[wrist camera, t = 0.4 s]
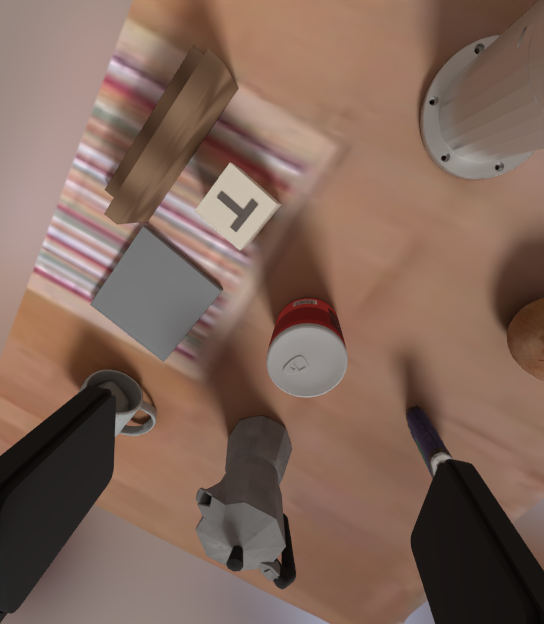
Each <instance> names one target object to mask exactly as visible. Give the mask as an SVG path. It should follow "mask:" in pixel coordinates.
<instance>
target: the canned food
mask: <svg viewBox="0 0 544 624" xmlns="http://www.w3.org/2000/svg"><path fill="white" fill-rule="evenodd" d="M346 368H347V351H346V346H345V342H344V338H343V335H342V331H341V328H340V324H339V320H338V317H337V315H336V313H335V311H334V310H333V309H332V307H330V306H329V305H328V304H327V303H325V302H323V301H321V300H318V299H314V298H302V299H298V300H296V301H293V302H291V303H290V304H288V305H287V306H286V307H285V308H284V309H283V310H282V311H281V313H280V314H279V316H278V318H277V321H276V324H275V328H274V331H273V334H272V338H271V341H270V344H269V348H268V353H267V369H268V373H269V375H270V377H271V379H272V381H273V382H274V383H275V384H276V386H277V387H279V388H280V389H281V390H282V391H284V392H286V393H288V394H290V395H293V396H297V397H315V396H319V395H322V394H325V393H327V392H328V391H330V390H332V389H333V388H334V387H335V386H336V385H338V383H339V382H340V381H341V379H342V378H343V376H344V374H345V372H346Z"/></svg>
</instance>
